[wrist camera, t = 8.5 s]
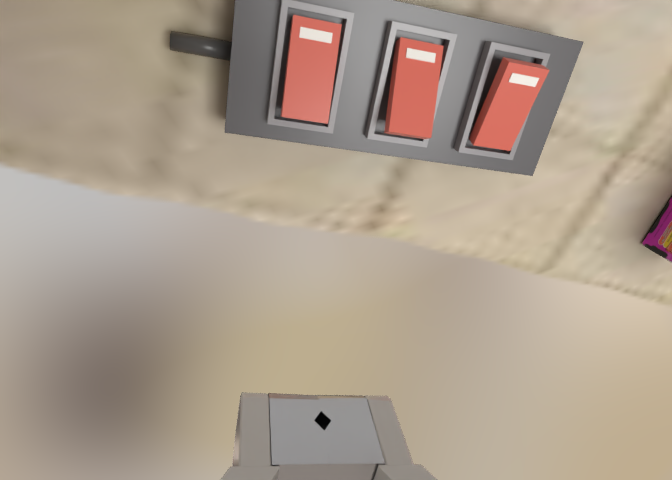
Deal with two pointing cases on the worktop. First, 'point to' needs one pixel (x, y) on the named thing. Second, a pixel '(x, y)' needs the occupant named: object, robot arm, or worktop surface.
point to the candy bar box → (661, 234)
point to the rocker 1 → (310, 69)
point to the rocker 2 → (413, 88)
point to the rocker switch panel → (386, 78)
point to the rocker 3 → (508, 103)
